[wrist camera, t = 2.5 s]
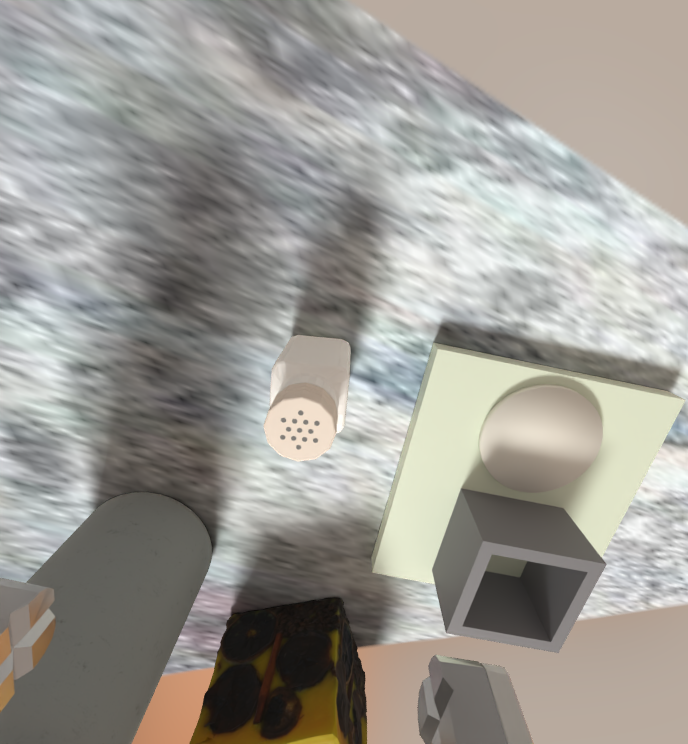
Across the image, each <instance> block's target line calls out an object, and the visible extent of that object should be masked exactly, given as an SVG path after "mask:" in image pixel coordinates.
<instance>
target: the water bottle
mask: <svg viewBox="0 0 688 744" xmlns="http://www.w3.org/2000/svg"><path fill="white" fill-rule="evenodd" d="M211 558H212V546H211V541H210V537H209V534H208V532H207V530H206V527H205V526H204V524H203V523H202V521H201V520H200V519H199V517H198V516H197V515H196V514H195V513H194V512H193V511H192V510H190V509H189V508H188V507H186V506H185V505H183V504H182V503H180V502H178V501H176V500H174V499H172V498H170V497H167V496H164V495H160V494H156V493H149V492H133V493H128V494H123V495H119V496H117V497H114V498H112V499H109V500H108V501H106V502H105V503H103V504H102V505H101V506H99V507H98V508H97V509H96V510H95V511H94V512H93V513H92V514H91V515H90V516H89V517H88V518H87V519H86V520H85V521H84V522H83V524H82V525H81V526H80V527H79V528H78V529H77V530H76V531H75V532H74V533H73V534H72V535H71V536H70V537H69V538H68V539H67V540H66V541H65V542H64V543H63V545H62V546H61V547H60V548H59V549H58V550H57V551H56V552H55V553H54V554H53V555H52V556H51V557H50V558H49V559H48V560H47V561H46V562H45V563H44V564H43V566H42V567H41V568H40V569H39V570H38V571H37V572H36V573H35V574H34V575H33V576H32V577H31V578H30V579H29V580H28V581H27V582H26V583H29V584H34V585H39V586H44V587H49V588H53V589H54V598H55V601H54V602H53V603H52V604H51V606H50V607H49V609H50V610H51V612H52V613H53V614H54V615H55V618H56V626H55V630H54V634H53V638H52V640H51V642H50V644H49V646H48V648H47V650H46V652H45V654H44V655H43V656H42V658H41V659H40V661H39V662H38V663H37V665H36V666H35V667H34V669H33V670H31V671H29V672H28V673H26V674H25V675H23V676H21V677H20V678H18V679H17V680H16V684H15V694H14V695H13V696H12V698H11V699H10V700H9V702H8V703H7V704H6V706H5V707H4V708H3V710H2V711H1V712H0V744H131V743H132V741H133V739H134V737H135V735H136V732H137V730H138V728H139V725H140V723H141V721H142V719H143V716H144V714H145V712H146V709H147V707H148V705H149V703H150V701H151V698H152V696H153V694H154V692H155V689H156V687H157V685H158V682H159V680H160V678H161V676H162V674H163V671H164V669H165V667H166V664H167V662H168V660H169V658H170V655H171V653H172V651H173V649H174V646H175V644H176V642H177V640H178V637H179V635H180V633H181V631H182V628H183V626H184V624H185V622H186V619H187V617H188V615H189V612H190V610H191V608H192V606H193V603H194V601H195V599H196V597H197V594H198V592H199V590H200V588H201V585H202V583H203V581H204V579H205V576H206V574H207V572H208V569H209V566H210V563H211Z"/></svg>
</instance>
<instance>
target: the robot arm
mask: <svg viewBox="0 0 688 744" xmlns="http://www.w3.org/2000/svg"><path fill="white" fill-rule="evenodd" d="M54 601H55V598H54V589H53V588H49V587H44V586H39V585H34V584H29V583H24V582H19V581H14V580H9V579H4V578H0V712H1V711H2V710H3V708H4V707H5V706H6V704H7V703H8V702H9V700H10V699H11V698H12V696H13V695H14V694H15V684H16V680H17V679H18V678H20V677H21V676H23V675H25V674H26V673H28V672H29V671H31V670H33V669H34V667H35V666H36V665H37V663H38V662H39V661H40V659H41V658H42V656H43V655H44V654H45V652H46V650H47V648H48V646H49V644H50V642H51V640H52V638H53V634H54V630H55V626H56V618H55V615H54V614H53V613H52V612H51V610H50V609H49V607H50V606H51V604H52V603H53V602H54ZM429 673H430V676H429V677H428V678H426V679H425V680H423V682H422V685H421V688H420V691H419V699H418V723H419V732H420V736H421V737H422V739H423V740H424V742H425V744H534V743H533V740H532V738H531V735H530V732H529V729H528V726H527V724H526V721H525V718H524V715H523V713H522V710H521V707H520V705H519V702H518V699H517V696H516V693H515V690H514V688H513V685H512V682H511V679H510V677H509V674H508V672H507V671H506V669H505V668H504V667H501V666H497V665H490V664H484V663H479V662H477V661H470V660H464V659H458V658H452V657H445V656H439V655H435V656H433V657H432V658H431V661H430V663H429Z"/></svg>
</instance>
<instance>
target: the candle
mask: <svg viewBox="0 0 688 744" xmlns="http://www.w3.org/2000/svg"><path fill="white" fill-rule="evenodd" d="M343 603H344V602H343V601H342V600H341V599H339V598H327V599H323V600H320V601H319V600H313V601H309V602H306V603H296V604H291V605H285V606H280V607H273V608H269V609H265V610H260V611H249V612H245V613H242V614H239V613H238V614H234V615H233V616H231V617H230V618H229V620H227V624H226V626H227V629H226V631H225V633H224V634H223V637H222V640H221V642H220V643H221V646H220V648H219V650H218V652H217V659H216V663H215V668H214V673H213V676H212V679H211V682H210V685H209V688H208V691H207V692H206V693H205V696H204V701H203V706H202V710H201V714H200V718H199V720H198V723H197V726H196V728H195V731H194V733H193V736H192V739H191V741H190V744H367V716H366V712H367V709H366V696H365V691H364V690H365V672H364V671H363V669H362V665H361V660H360V659H359V658H358V652H357V646H356V644H355V641H354V639H353V636H352V633H351V630H350V627H349V621H348V620H347V618H346V615H345V610H344V608H343Z"/></svg>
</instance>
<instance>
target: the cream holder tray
mask: <svg viewBox="0 0 688 744" xmlns="http://www.w3.org/2000/svg"><path fill="white" fill-rule="evenodd" d="M684 402H685V399H683V398H681V397H678V396H676V395H674V394H672V393H670V392H668V391H664V390H660V389H655V388H650V387H645V386H640V385H636V384H631V383H626V382H621V381H616V380H611V379H607V378H602V377H597V376H592V375H587V374H583V373H578V372H573V371H568V370H563V369H558V368H554V367H549V366H544V365H539V364H534V363H530V362H525V361H520V360H515V359H510V358H506V357H501V356H496V355H491V354H486V353H481V352H477V351H472V350H467V349H462V348H457V347H453V346H448V345H443V344H438V343H433V346H432V349H431V353H430V356H429V360H428V363H427V366H426V370H425V373H424V377H423V380H422V384H421V387H420V391H419V394H418V398H417V401H416V405H415V408H414V412H413V415H412V418H411V422H410V425H409V429H408V432H407V436H406V439H405V443H404V446H403V450H402V453H401V457H400V460H399V464H398V467H397V470H396V474H395V477H394V481H393V484H392V488H391V491H390V495H389V498H388V502H387V505H386V509H385V512H384V516H383V519H382V522H381V526H380V529H379V533H378V536H377V540H376V543H375V547H374V550H373V554H372V557H371V560H372V573H376V574H381V575H387V576H392V577H398V578H403V579H409V580H414V581H420V582H425V583H431V584H435V586H436V590H437V595H438V599H439V603H440V608H441V612H442V617H443V621H444V625H445V630H446V633H449V634H454V635H460V636H466V637H471V638H477V639H483V640H488V641H494V642H499V643H505V644H511V645H516V646H522V647H527V648H534V649H539V650H544V651H550V652H556V653H559V651H560V649H561V647H562V645H563V644H564V642H565V640H566V638H567V636H568V634H569V633H570V631H571V629H572V627H573V625H574V623H575V621H576V620H577V618H578V616H579V614H580V612H581V610H582V609H583V607H584V605H585V603H586V601H587V599H588V597H589V596H590V594H591V592H592V590H593V588H594V586H595V585H596V583H597V581H598V579H599V577H600V575H601V573H602V572H603V570H604V568H605V566H606V563H605V562H604V560H603V559H602V556H603V554H604V552H605V550H606V549H607V547H608V545H609V543H610V541H611V539H612V537H613V535H614V534H615V532H616V530H617V528H618V526H619V524H620V522H621V520H622V519H623V517H624V515H625V513H626V511H627V509H628V507H629V505H630V504H631V502H632V500H633V498H634V496H635V494H636V492H637V490H638V489H639V487H640V485H641V483H642V481H643V479H644V477H645V475H646V474H647V472H648V470H649V468H650V466H651V464H652V462H653V460H654V459H655V457H656V455H657V453H658V451H659V449H660V447H661V445H662V444H663V442H664V440H665V438H666V436H667V434H668V432H669V430H670V428H671V427H672V425H673V423H674V421H675V419H676V417H677V415H678V413H679V412H680V410H681V408H682V406H683V404H684Z"/></svg>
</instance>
